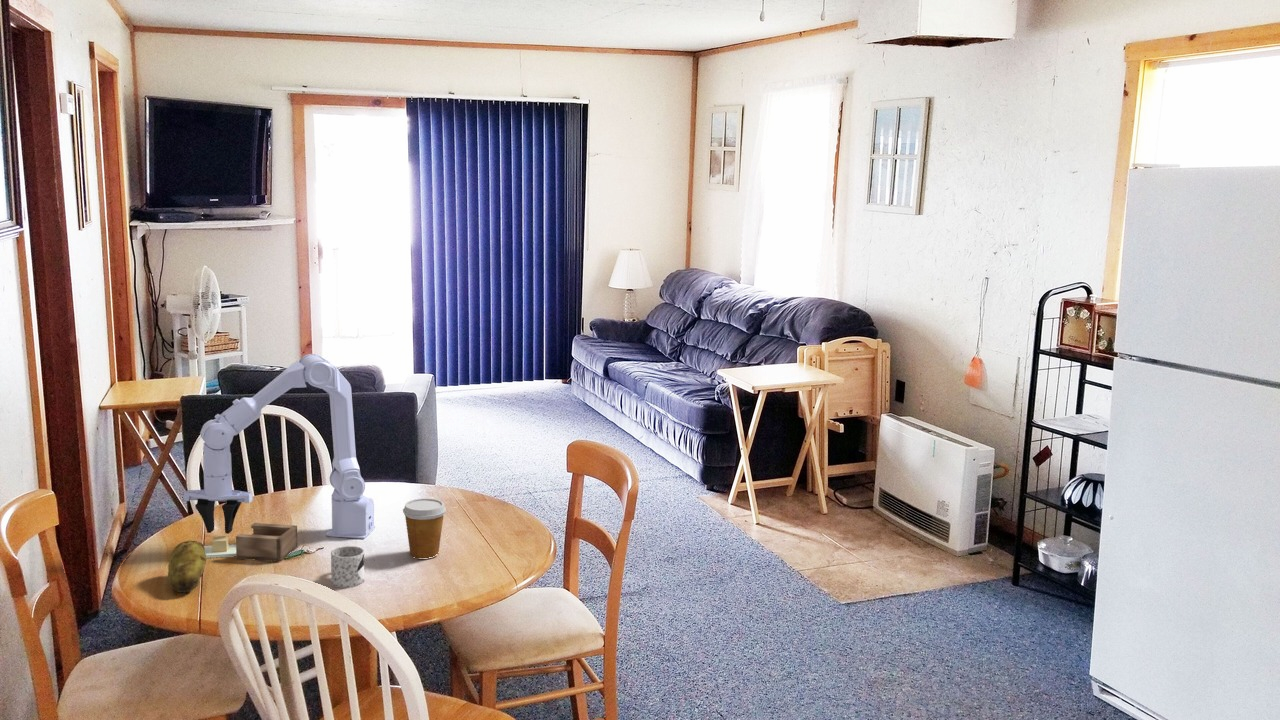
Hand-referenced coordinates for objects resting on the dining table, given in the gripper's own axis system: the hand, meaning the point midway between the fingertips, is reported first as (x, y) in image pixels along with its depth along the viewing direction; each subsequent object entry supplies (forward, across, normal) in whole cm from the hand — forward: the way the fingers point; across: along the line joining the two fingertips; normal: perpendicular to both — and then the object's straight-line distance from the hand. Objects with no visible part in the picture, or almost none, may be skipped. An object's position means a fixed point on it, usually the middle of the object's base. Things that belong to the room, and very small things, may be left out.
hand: (219, 531), depth 217 cm
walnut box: (+4, -11, +1) cm, 12 cm away
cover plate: (+5, -1, +2) cm, 5 cm away
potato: (+4, -1, +19) cm, 20 cm away
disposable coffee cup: (+4, -46, -2) cm, 46 cm away
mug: (+5, -33, +14) cm, 36 cm away
